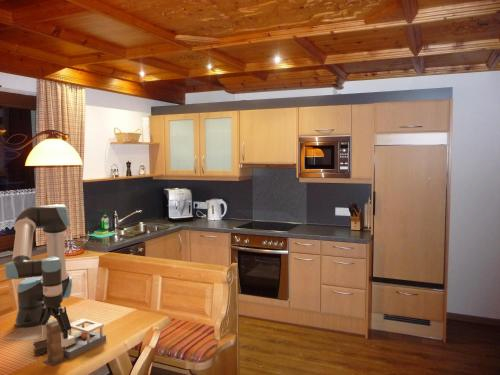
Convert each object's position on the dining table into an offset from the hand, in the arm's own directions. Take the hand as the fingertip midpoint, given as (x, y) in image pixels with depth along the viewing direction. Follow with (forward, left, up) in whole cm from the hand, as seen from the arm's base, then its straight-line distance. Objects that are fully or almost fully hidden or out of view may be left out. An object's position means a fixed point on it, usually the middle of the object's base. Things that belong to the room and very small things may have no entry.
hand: (55, 342), depth 180 cm
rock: (-14, +5, -9) cm, 17 cm away
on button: (-3, +8, -5) cm, 10 cm away
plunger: (-3, +18, -6) cm, 19 cm away
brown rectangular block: (0, 0, -8) cm, 8 cm away
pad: (0, 0, -8) cm, 8 cm away
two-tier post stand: (-3, +14, -8) cm, 16 cm away
